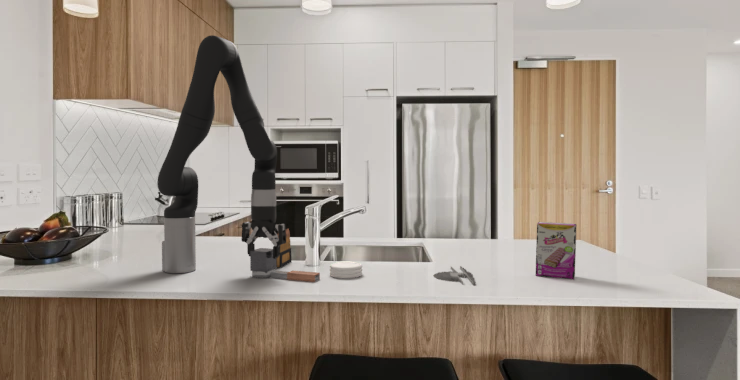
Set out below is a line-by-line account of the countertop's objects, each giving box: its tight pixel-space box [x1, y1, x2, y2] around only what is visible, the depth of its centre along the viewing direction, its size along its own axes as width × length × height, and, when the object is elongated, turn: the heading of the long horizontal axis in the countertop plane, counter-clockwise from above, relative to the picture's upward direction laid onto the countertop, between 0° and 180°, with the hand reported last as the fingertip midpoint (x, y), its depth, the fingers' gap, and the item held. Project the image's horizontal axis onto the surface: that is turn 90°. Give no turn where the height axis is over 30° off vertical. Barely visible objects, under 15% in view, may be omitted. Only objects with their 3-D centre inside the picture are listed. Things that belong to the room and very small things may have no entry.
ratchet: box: [251, 268, 321, 283], centre depth 139 cm, size 22×7×7 cm, turn 70°
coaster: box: [329, 261, 363, 279], centre depth 143 cm, size 10×10×4 cm
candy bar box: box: [535, 221, 577, 280], centre depth 141 cm, size 11×5×16 cm, turn 65°
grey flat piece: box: [433, 265, 476, 286], centre depth 142 cm, size 28×28×1 cm
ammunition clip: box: [276, 228, 292, 269], centre depth 158 cm, size 11×2×12 cm, turn 170°
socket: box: [249, 247, 277, 272], centre depth 141 cm, size 6×6×6 cm
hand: (263, 257), depth 142 cm, fingers open, 8 cm apart
